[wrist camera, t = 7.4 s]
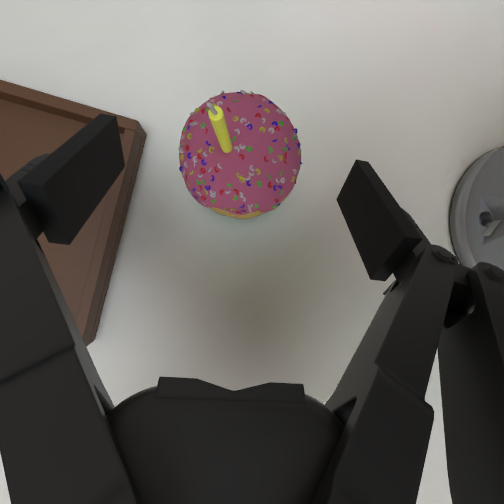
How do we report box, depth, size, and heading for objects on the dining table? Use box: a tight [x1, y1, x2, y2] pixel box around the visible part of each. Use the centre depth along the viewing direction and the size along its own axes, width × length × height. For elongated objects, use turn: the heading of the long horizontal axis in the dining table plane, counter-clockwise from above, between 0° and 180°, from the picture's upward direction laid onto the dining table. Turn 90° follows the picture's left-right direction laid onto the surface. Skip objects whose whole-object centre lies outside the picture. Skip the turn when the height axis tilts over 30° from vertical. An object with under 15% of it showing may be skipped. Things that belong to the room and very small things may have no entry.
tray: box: [0, 80, 146, 346], centre depth 19 cm, size 18×14×2 cm
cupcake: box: [179, 90, 302, 219], centre depth 16 cm, size 9×8×12 cm
